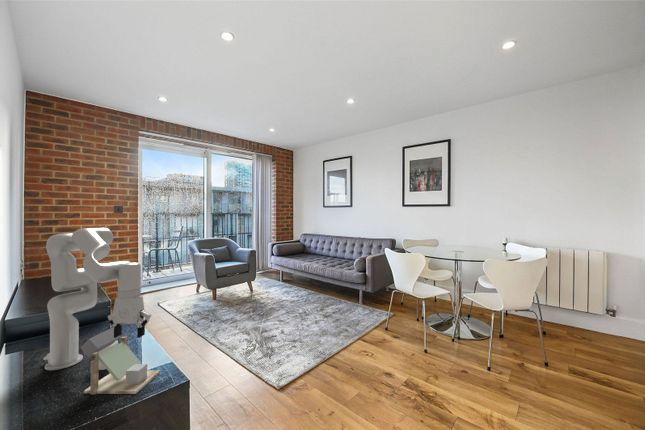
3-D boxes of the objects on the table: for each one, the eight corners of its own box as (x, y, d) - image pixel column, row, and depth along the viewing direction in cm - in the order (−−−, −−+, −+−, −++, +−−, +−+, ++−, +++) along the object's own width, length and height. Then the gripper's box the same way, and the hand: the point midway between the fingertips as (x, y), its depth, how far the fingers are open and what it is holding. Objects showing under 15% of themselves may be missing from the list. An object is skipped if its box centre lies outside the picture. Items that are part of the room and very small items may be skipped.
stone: (126, 370, 105) (138, 370, 105) (135, 363, 110) (147, 364, 110) (125, 383, 105) (138, 383, 104) (135, 376, 110) (147, 376, 109)
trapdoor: (78, 348, 102) (88, 339, 102) (105, 334, 114) (114, 326, 114) (111, 386, 101) (120, 377, 101) (134, 369, 113) (143, 361, 113)
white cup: (121, 363, 122) (122, 341, 123) (102, 372, 115) (103, 348, 115) (110, 360, 125) (110, 338, 125) (90, 369, 118) (91, 346, 118)
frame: (80, 395, 99) (81, 354, 100) (117, 370, 116) (117, 335, 116) (132, 396, 98) (132, 355, 99) (162, 371, 115) (162, 335, 116)
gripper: (100, 296, 105) (100, 340, 104) (143, 296, 104) (143, 340, 103) (116, 291, 112) (116, 332, 112) (156, 291, 111) (156, 332, 111)
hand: (129, 336), depth 108 cm, fingers open, 9 cm apart
